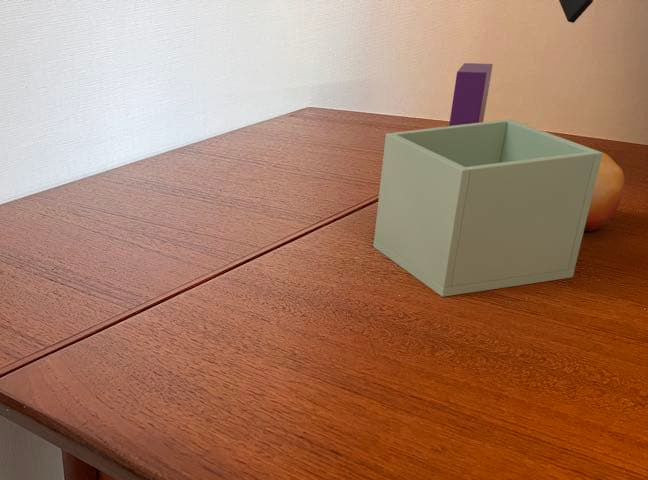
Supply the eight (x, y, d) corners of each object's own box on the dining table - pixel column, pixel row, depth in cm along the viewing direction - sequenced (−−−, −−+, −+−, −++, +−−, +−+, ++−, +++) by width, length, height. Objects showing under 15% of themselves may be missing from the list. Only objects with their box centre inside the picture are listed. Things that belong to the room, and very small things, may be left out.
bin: (489, 230, 85) (509, 118, 79) (573, 277, 74) (603, 152, 69) (373, 246, 83) (385, 133, 77) (442, 297, 72) (462, 170, 67)
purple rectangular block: (440, 181, 99) (457, 71, 92) (448, 169, 102) (464, 63, 96) (468, 183, 97) (486, 72, 91) (474, 171, 101) (492, 63, 95)
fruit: (631, 200, 86) (640, 140, 79) (603, 260, 83) (610, 204, 77) (546, 188, 90) (547, 130, 84) (517, 244, 88) (517, 190, 82)
